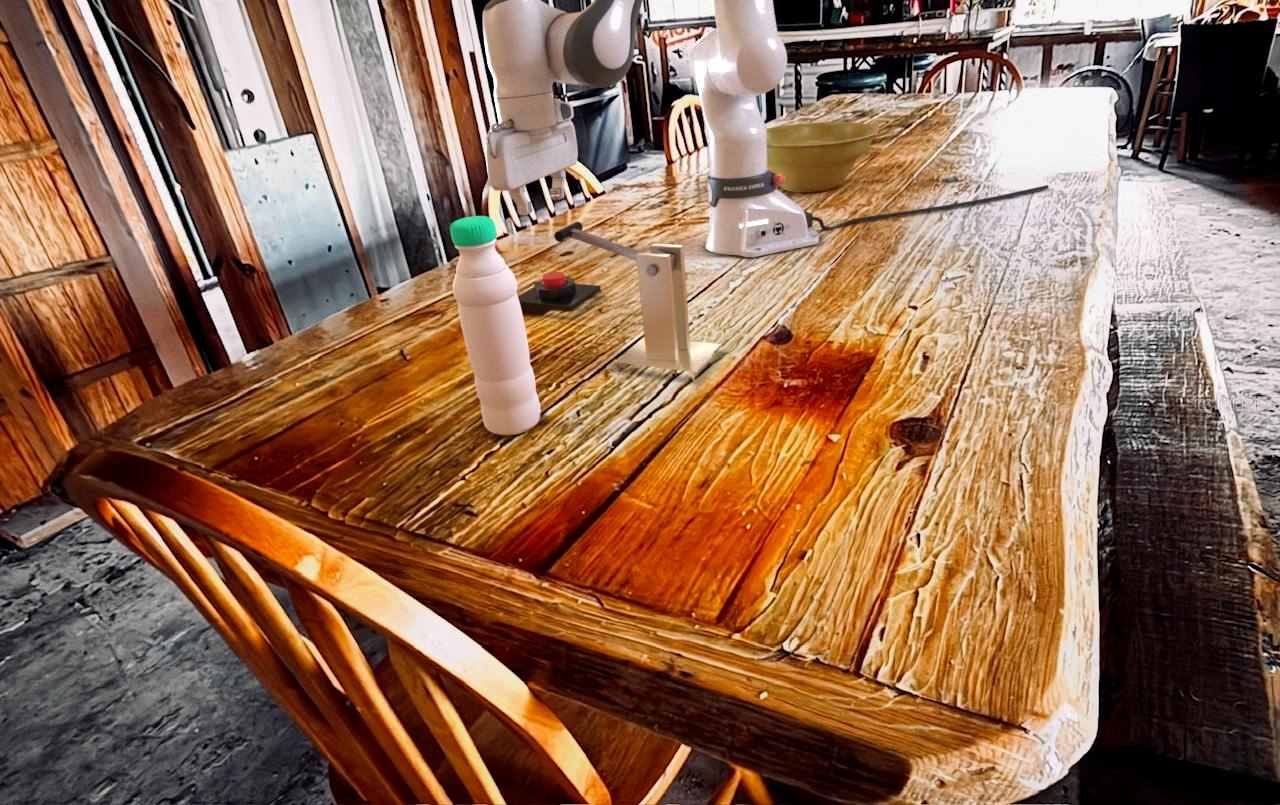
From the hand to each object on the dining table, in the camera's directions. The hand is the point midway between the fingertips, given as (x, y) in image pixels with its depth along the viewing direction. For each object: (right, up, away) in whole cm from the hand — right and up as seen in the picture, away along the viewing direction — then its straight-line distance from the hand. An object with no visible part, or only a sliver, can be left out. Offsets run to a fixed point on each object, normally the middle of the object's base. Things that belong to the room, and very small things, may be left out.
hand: (542, 206), depth 114 cm
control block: (+2, -15, +8) cm, 17 cm away
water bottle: (0, -34, -27) cm, 44 cm away
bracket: (+20, -26, -16) cm, 37 cm away
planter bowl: (+60, +24, +68) cm, 94 cm away
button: (+1, -12, +6) cm, 13 cm away
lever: (+12, -12, -20) cm, 27 cm away
